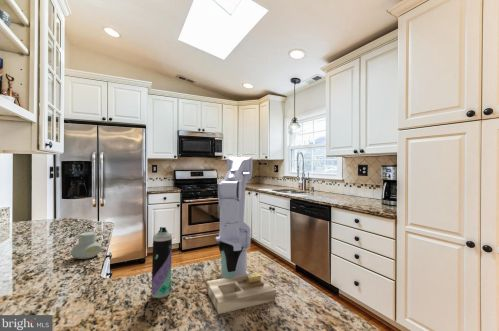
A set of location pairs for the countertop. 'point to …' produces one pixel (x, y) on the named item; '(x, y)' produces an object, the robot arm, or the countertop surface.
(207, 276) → the countertop surface
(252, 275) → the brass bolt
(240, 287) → the dock plate
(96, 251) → the air freshener
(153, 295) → the spray can
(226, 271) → the teal peg
